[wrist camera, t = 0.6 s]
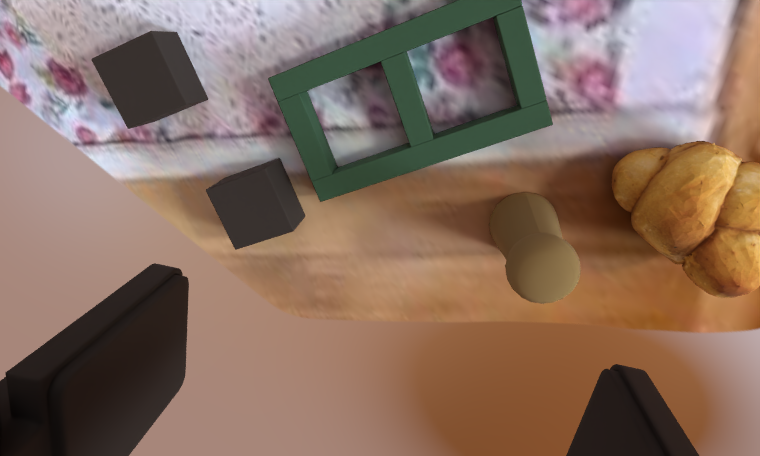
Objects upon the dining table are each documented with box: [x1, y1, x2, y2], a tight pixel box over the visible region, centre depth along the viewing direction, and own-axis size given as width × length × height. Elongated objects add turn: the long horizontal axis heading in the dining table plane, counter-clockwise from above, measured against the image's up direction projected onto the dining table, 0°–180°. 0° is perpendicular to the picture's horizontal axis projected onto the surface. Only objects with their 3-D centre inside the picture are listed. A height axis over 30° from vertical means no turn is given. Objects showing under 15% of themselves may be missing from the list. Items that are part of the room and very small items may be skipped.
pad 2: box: [206, 158, 305, 250], centre depth 44 cm, size 6×6×4 cm
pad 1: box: [92, 31, 208, 129], centre depth 41 cm, size 6×6×4 cm
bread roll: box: [612, 141, 760, 298], centre depth 37 cm, size 13×10×8 cm
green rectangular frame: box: [268, 0, 553, 202], centre depth 40 cm, size 11×20×2 cm, turn 110°
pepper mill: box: [489, 192, 580, 304], centre depth 39 cm, size 6×6×11 cm
